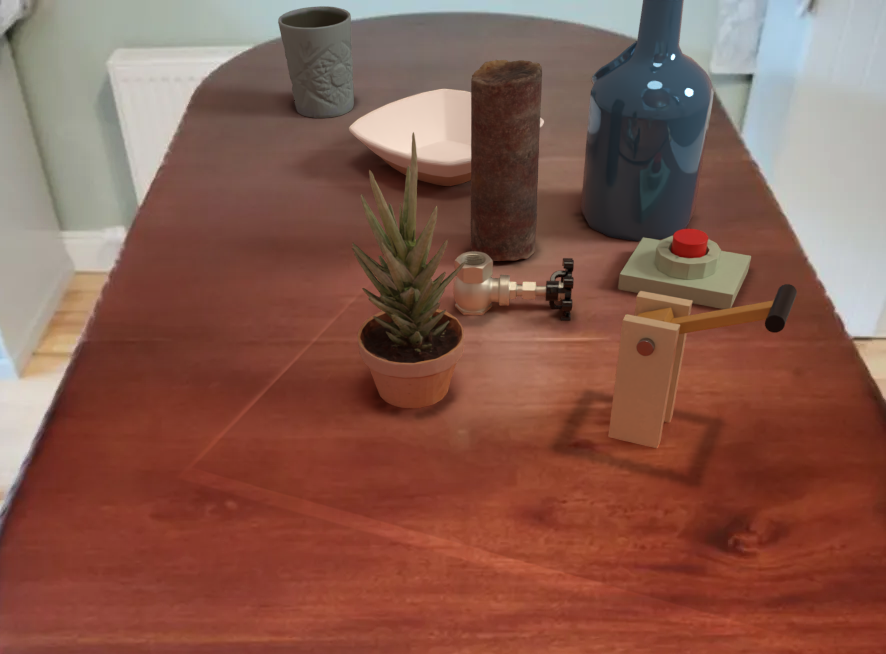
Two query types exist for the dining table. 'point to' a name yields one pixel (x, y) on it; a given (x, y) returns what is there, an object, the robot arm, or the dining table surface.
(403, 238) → the potted plant
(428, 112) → the bowl
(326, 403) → the dining table surface
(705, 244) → the button
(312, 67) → the grey embossed cup
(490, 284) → the valve
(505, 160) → the brown textured cylinder
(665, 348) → the bracket
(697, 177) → the wine bottle
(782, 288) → the lever
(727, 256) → the button block
